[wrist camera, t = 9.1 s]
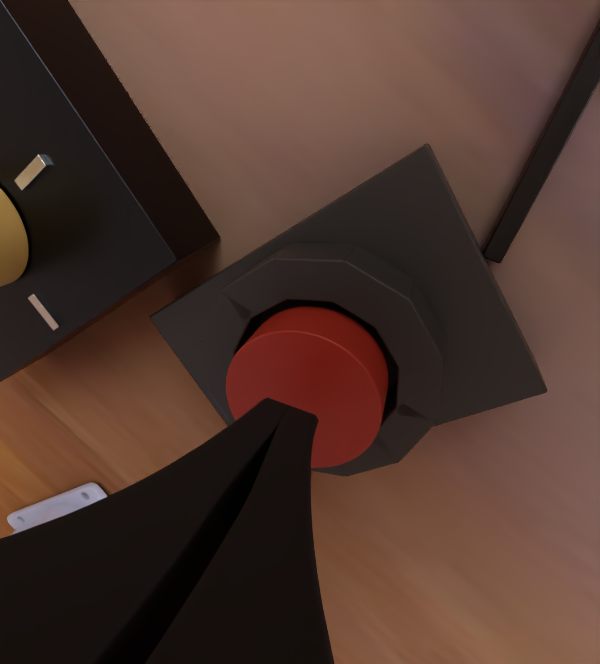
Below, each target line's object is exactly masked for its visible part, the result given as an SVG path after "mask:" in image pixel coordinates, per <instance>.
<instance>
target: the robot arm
mask: <svg viewBox="0 0 600 664" xmlns="http://www.w3.org/2000/svg"><path fill="white" fill-rule="evenodd" d="M318 421H319V420H318V418H317V416H316V415H315V414H312V413H309V412H307V411H304V410H301V409H298V408H295V407H293V406H290V405H287V404H284V403H282V402H279V401H276V400H273V399H270V398H268V397H267V398H265V399H262V400H261V401H260V402H259V403H258V404H256V405H255V406H254V407H253V408H252V409H250V410H249V411H248V412H247V413H245V414H244V415H243V416H241V417H240V418H239V419H237V420H236V421H235V422H233V423H232V424H231V425H229V426H228V427H227V428H225V429H224V430H222V431H221V432H219V433H218V434H217V435H215V436H214V437H212V438H211V439H209V440H208V441H207V442H205V443H204V444H202V445H201V446H199V447H197V448H196V449H194V450H193V451H191V452H189V453H188V454H186V455H184V456H183V457H181V458H179V459H178V460H176V461H175V462H173V463H171V464H170V465H168V466H166V467H164V468H163V469H161V470H159V471H157V472H156V473H154V474H152V475H150V476H148V477H146V478H144V479H142V480H140V481H139V482H137V483H135V484H133V485H131V486H129V487H127V488H125V489H123V490H121V491H118V492H116V493H114V494H112V495H110V496H107V495H106V493H105V492H104V491H103V490H102V489H101V488H100V486H98V485H97V484H95V483H87V484H85V485H82V486H79V487H77V488H74V489H72V490H69V491H67V492H64V493H61V494H59V495H56V496H54V497H51V498H49V499H46V500H43V501H41V502H38V503H36V504H33V505H30V506H28V507H25V508H23V509H20V510H18V511H15V512H12V513H11V514H10V515H9V516H8V517H7V521H8V523H9V524H10V525H11V526H12V527H13V528H14V529H15V531H14V532H13V533H12V534H11V535H10V536H7V537H4V538H1V539H0V664H334V659H333V655H332V650H331V645H330V640H329V635H328V630H327V625H326V621H325V616H324V611H323V606H322V600H321V594H320V587H319V581H318V574H317V567H316V559H315V551H314V542H313V530H312V515H311V456H312V446H313V439H314V435H315V431H316V428H317V425H318Z"/></svg>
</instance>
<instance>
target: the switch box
mask: <svg viewBox="0 0 600 664" xmlns="http://www.w3.org/2000/svg"><path fill="white" fill-rule="evenodd" d="M299 306H317V307H324V308H328V309H332V310H335V311H337V312H340V313H342V314H344V315H346V316H348V317H350V318H352V319H353V320H355V321H356V322H358V323H359V324H360V325H361V326H363V327H364V328H365V329H366V330H367V331H368V332H369V333H370V334H371V335H372V337H373V338H374V339H375V340H376V342H377V343H378V345H379V346H380V348H381V350H382V352H383V354H384V357H385V360H386V363H387V367H388V374H389V383H388V391H387V396H386V401H385V406H384V411H383V416H382V421H381V425H380V428H379V432H378V434H377V436H376V438H375V439H374V441H373V442H372V444H371V445H370V446H369V447H368V448H367V449H366V450H365V451H364V452H363V453H362V454H360V455H359V456H358V457H356V458H355V459H353V460H351V461H349V462H346V463H344V464H341V465H337V466H332V467H324V468H312V467H311V471H316V472H322V473H328V474H334V475H340V476H350V475H354V474H357V473H361V472H365V471H368V470H372V469H376V468H379V467H383V466H387V465H390V464H394V463H398V462H399V461H401V460H402V458H403V457H404V456H405V455H406V454H407V453H408V452H409V451H410V450H411V449H412V448H413V447H414V446H415V445H416V444H417V442H418V441H419V440H420V439H421V438H422V437H423V436H424V435H425V434H426V433H427V432H428V431H429V430H430V429H431V428H432V427H433V426H437V425H440V424H443V423H447V422H450V421H453V420H456V419H460V418H463V417H466V416H470V415H473V414H476V413H480V412H483V411H486V410H490V409H493V408H496V407H499V406H503V405H506V404H509V403H513V402H516V401H519V400H523V399H526V398H529V397H533V396H536V395H539V394H543V393H546V392H547V388H546V386H545V383H544V381H543V378H542V376H541V373H540V371H539V368H538V366H537V363H536V361H535V359H534V357H533V355H532V353H531V351H530V349H529V347H528V345H527V343H526V341H525V339H524V337H523V335H522V333H521V331H520V329H519V327H518V325H517V323H516V321H515V319H514V316H513V314H512V312H511V310H510V308H509V306H508V304H507V302H506V300H505V298H504V296H503V294H502V292H501V290H500V288H499V286H498V284H497V282H496V280H495V278H494V276H493V274H492V272H491V269H490V267H489V265H488V263H487V261H486V259H485V258H484V256H483V254H482V251H481V249H480V247H479V245H478V243H477V241H476V239H475V237H474V235H473V233H472V231H471V229H470V227H469V225H468V222H467V220H466V218H465V216H464V214H463V212H462V210H461V208H460V206H459V204H458V202H457V200H456V198H455V196H454V194H453V192H452V190H451V188H450V186H449V184H448V182H447V180H446V178H445V175H444V173H443V171H442V169H441V167H440V165H439V163H438V161H437V159H436V157H435V155H434V153H433V151H432V149H431V147H430V145H429V144H425V145H423V146H422V147H420V148H419V149H417V150H415V151H414V152H412V153H411V154H409V155H407V156H406V157H404V158H403V159H401V160H399V161H398V162H396V163H394V164H393V165H391V166H390V167H388V168H386V169H385V170H383V171H382V172H380V173H378V174H377V175H375V176H374V177H372V178H370V179H369V180H367V181H365V182H364V183H362V184H361V185H359V186H357V187H356V188H354V189H353V190H351V191H349V192H348V193H346V194H345V195H343V196H341V197H340V198H338V199H337V200H335V201H333V202H332V203H330V204H328V205H327V206H325V207H324V208H322V209H320V210H319V211H317V212H316V213H314V214H312V215H311V216H309V217H308V218H306V219H304V220H303V221H301V222H299V223H298V224H296V225H295V226H293V227H291V228H290V229H288V230H287V231H285V232H283V233H282V234H280V235H279V236H277V237H275V238H274V239H272V240H270V241H269V242H267V243H266V244H264V245H262V246H261V247H259V248H258V249H256V250H254V251H253V252H251V253H250V254H248V255H246V256H245V257H243V258H241V259H240V260H238V261H237V262H235V263H233V264H232V265H230V266H229V267H227V268H225V269H224V270H222V271H221V272H219V273H217V274H216V275H214V276H212V277H211V278H209V279H208V280H206V281H204V282H203V283H201V284H200V285H198V286H196V287H195V288H193V289H192V290H190V291H188V292H187V293H185V294H183V295H182V296H180V297H179V298H177V299H175V300H174V301H172V302H171V303H169V304H168V305H166V306H165V307H163V308H162V309H160V310H159V311H157V312H156V313H154V314H153V315H151V316H150V319H151V321H152V322H153V324H154V325H155V326H156V328H157V329H158V330H159V332H160V333H161V335H162V336H163V337H164V339H165V340H166V342H167V343H168V344H169V346H170V347H171V348H172V350H173V351H174V353H175V354H176V355H177V357H178V358H179V359H180V361H181V362H182V364H183V365H184V366H185V368H186V369H187V371H188V372H189V373H190V375H191V376H192V377H193V379H194V380H195V382H196V383H197V384H198V386H199V387H200V389H201V390H202V391H203V393H204V394H205V395H206V397H207V398H208V400H209V401H210V402H211V404H212V405H213V406H214V408H215V409H216V411H217V412H218V413H219V415H220V416H221V418H222V419H223V420H224V422H225V423H226V424H227V426H229V425H231V424H232V423H233V422H235V421H236V420H235V418H234V416H233V414H232V412H231V410H230V407H229V404H228V400H227V395H226V377H227V372H228V368H229V366H230V363H231V361H232V359H233V358H234V356H235V354H236V353H237V352H238V351H239V350H240V348H241V347H242V346H243V345H244V344H245V343H246V342H247V340H248V339H249V338H250V337H251V336H252V335H253V334H254V333H255V331H256V330H257V329H258V328H259V327H260V326H261V325H262V324H263V323H264V322H265V321H266V320H267V319H268V318H270V317H271V316H273V315H274V314H276V313H278V312H280V311H283V310H285V309H289V308H293V307H299Z"/></svg>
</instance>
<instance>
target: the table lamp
mask: <svg viewBox="0 0 600 664" xmlns="http://www.w3.org/2000/svg"><path fill="white" fill-rule="evenodd" d="M599 82H600V20H599V22H598V24H597V26H596V28H595V30H594V32H593V33H592V35H591V37H590V39H589V41H588V43H587V45H586V47H585V49H584V51H583V53H582V55H581V57H580V59H579V61H578V63H577V65H576V67H575V69H574V71H573V72H572V74H571V76H570V78H569V80H568V82H567V84H566V86H565V88H564V90H563V92H562V94H561V96H560V98H559V100H558V102H557V104H556V106H555V108H554V109H553V111H552V113H551V115H550V117H549V119H548V121H547V123H546V125H545V127H544V129H543V131H542V133H541V135H540V137H539V139H538V141H537V143H536V145H535V147H534V148H533V150H532V152H531V154H530V156H529V158H528V160H527V162H526V164H525V166H524V168H523V170H522V172H521V174H520V176H519V178H518V180H517V182H516V184H515V186H514V187H513V189H512V191H511V193H510V195H509V197H508V199H507V201H506V203H505V205H504V207H503V209H502V211H501V213H500V215H499V217H498V219H497V221H496V223H495V225H494V226H493V228H492V230H491V232H490V234H489V236H488V238H487V240H486V242H485V244H484V246H483V248H482V250H481V251H482V254H483V256H484V258H486V259H489V260H492V261H495V262H497V263H501V261H502V260H503V258H504V256H505V254H506V252H507V250H508V249H509V247H510V245H511V243H512V241H513V239H514V238H515V236H516V234H517V232H518V230H519V228H520V227H521V225H522V223H523V221H524V219H525V217H526V216H527V214H528V212H529V210H530V208H531V206H532V205H533V203H534V201H535V199H536V197H537V195H538V194H539V192H540V190H541V188H542V186H543V184H544V183H545V181H546V179H547V177H548V175H549V173H550V172H551V170H552V168H553V166H554V164H555V162H556V161H557V159H558V157H559V155H560V153H561V151H562V150H563V148H564V146H565V144H566V142H567V140H568V139H569V137H570V135H571V133H572V131H573V129H574V128H575V126H576V124H577V122H578V120H579V118H580V117H581V115H582V113H583V111H584V109H585V107H586V106H587V104H588V102H589V100H590V98H591V96H592V95H593V93H594V91H595V89H596V87H597V85H598V84H599Z"/></svg>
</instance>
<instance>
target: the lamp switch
mask: <svg viewBox="0 0 600 664" xmlns="http://www.w3.org/2000/svg"><path fill="white" fill-rule="evenodd" d="M388 383H389V374H388V367H387V363H386V360H385V357H384V354H383V352H382V350H381V348H380V346H379V345H378V343H377V342H376V340H375V339H374V338H373V337H372V335H371V334H370V333H369V332H368V331H367V330H366V329H365V328H364V327H363V326H361V325H360V324H359V323H358V322H356V321H355V320H353V319H352V318H350V317H348V316H346V315H344V314H342V313H340V312H337V311H335V310H332V309H328V308H324V307H317V306H299V307H293V308H289V309H285V310H283V311H280V312H278V313H276V314H274V315H273V316H271V317H270V318H268V319H267V320H266V321H265V322H264V323H263V324H262V325H261V326H260V327H259V328H258V329H257V330H256V331H255V333H254V334H253V335H252V336H251V337H250V338H249V339H248V340H247V342H246V343H245V344H244V345H243V346H242V347H241V348H240V350H239V351H238V352H237V353H236V354H235V356H234V358H233V359H232V361H231V363H230V366H229V368H228V372H227V377H226V395H227V400H228V404H229V407H230V410H231V412H232V414H233V416H234V418H235V420H237V419H239V418H240V417H241V416H243V415H244V414H245V413H247V412H248V411H249V410H250V409H252V408H253V407H254V406H255V405H256V404H258V403H259V402H260V401H261V400H262V399H265V398H267V397H268V398H270V399H273V400H276V401H279V402H282V403H284V404H287V405H290V406H293V407H295V408H298V409H301V410H304V411H307V412H309V413H312V414H315V415H316V416H317V418H318V420H319V421H318V425H317V428H316V431H315V435H314V439H313V446H312V456H311V467H312V468H324V467H332V466H337V465H341V464H344V463H346V462H349V461H351V460H353V459H355V458H356V457H358V456H359V455H360V454H362V453H363V452H364V451H365V450H366V449H367V448H368V447H369V446H370V445H371V444H372V442H373V441H374V439H375V438H376V436H377V434H378V432H379V428H380V425H381V421H382V416H383V411H384V406H385V401H386V396H387V391H388Z"/></svg>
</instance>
